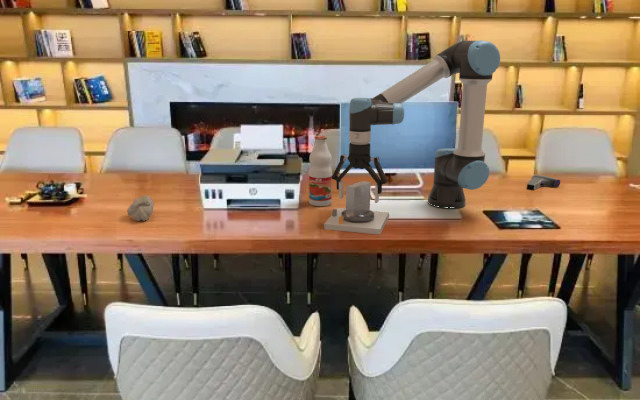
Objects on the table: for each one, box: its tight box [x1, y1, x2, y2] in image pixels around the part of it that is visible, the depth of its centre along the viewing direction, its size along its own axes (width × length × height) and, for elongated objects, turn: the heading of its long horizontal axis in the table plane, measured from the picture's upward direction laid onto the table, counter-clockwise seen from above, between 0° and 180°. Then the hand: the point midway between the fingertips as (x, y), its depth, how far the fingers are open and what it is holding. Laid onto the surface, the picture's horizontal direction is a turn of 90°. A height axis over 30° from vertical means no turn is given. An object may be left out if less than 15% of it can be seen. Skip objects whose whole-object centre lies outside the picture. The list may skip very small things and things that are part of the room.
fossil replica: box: [126, 194, 155, 222], centre depth 201 cm, size 12×8×10 cm
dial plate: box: [323, 207, 390, 235], centre depth 198 cm, size 20×20×4 cm
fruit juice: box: [308, 134, 333, 207], centre depth 218 cm, size 9×9×28 cm
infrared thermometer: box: [526, 174, 561, 191], centre depth 248 cm, size 5×12×15 cm
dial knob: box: [342, 180, 374, 222], centre depth 196 cm, size 12×12×12 cm
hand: (358, 200), depth 196 cm, fingers open, 13 cm apart
